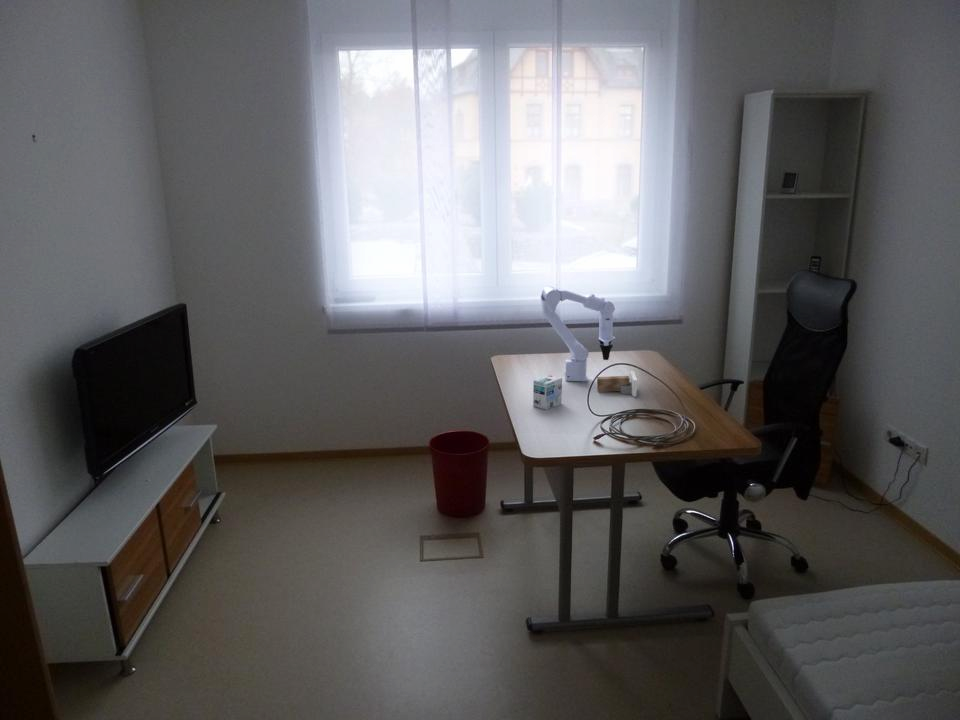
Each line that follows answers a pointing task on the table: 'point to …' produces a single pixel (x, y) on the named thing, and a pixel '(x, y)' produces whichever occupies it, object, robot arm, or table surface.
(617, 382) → the rail
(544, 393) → the light bulb box
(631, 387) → the bracket
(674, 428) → the table surface
